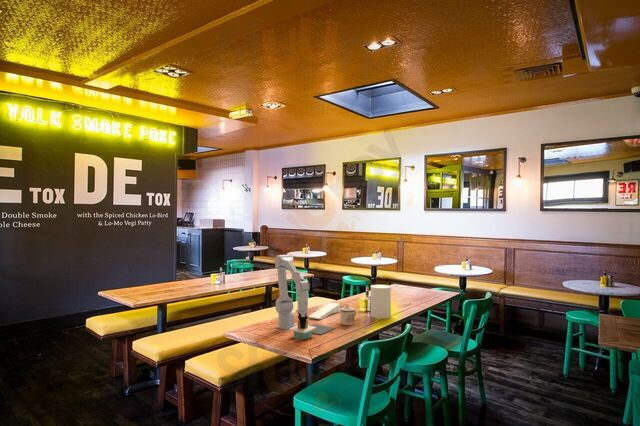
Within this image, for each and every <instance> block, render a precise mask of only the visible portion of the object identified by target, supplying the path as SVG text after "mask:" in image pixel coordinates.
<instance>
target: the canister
mask: <svg viewBox="0 0 640 426" xmlns="http://www.w3.org/2000/svg"><path fill="white" fill-rule="evenodd" d="M391 286H392V285H389V284H380V283H379V284H371V285H370V317H372V318H374V319H380V320H381V319H389V318H391V317H392V308H391V307H392V299H391V298H392V293H391V291H392V287H391Z"/></svg>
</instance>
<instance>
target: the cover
mask: <svg viewBox="0 0 640 426" xmlns="http://www.w3.org/2000/svg"><path fill="white" fill-rule="evenodd" d="M308 323H309V320H308V319H307V321H306V325H305V329H301V326H300V321H299V320H297V325H295V326H293V327H291V328H288V331H291V332H292V331H293V332H294V331H295V332H300V333H307V332H310V331H312V330H314V329H316V327H313V326H311V325H309V324H308Z"/></svg>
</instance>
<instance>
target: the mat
mask: <svg viewBox="0 0 640 426" xmlns="http://www.w3.org/2000/svg"><path fill="white" fill-rule="evenodd" d="M310 326H313V327H316V329H314V330H312V335H317V334H318V336H323V335H325V334H327V333H329V331H330V332H331V331H334V330H336V327H334V326H327V325H323V324H317V323H313V324H311V325H310Z"/></svg>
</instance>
